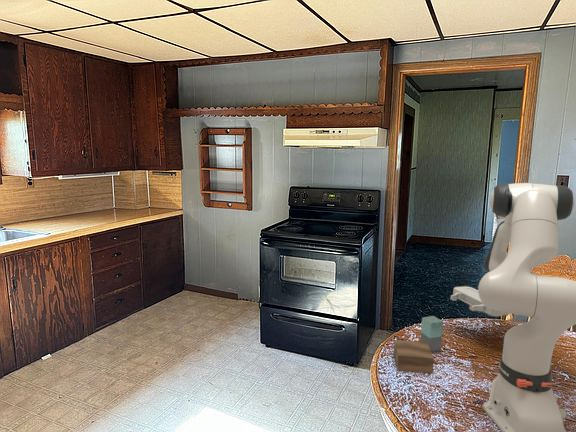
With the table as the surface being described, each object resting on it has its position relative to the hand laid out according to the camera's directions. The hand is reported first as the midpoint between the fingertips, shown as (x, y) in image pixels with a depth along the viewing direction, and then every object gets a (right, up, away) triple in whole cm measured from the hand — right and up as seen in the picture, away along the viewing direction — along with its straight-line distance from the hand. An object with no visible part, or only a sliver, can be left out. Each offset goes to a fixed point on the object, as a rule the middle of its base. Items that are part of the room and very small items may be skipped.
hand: (461, 302), depth 147 cm
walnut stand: (-21, -18, -11) cm, 30 cm away
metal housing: (-12, -16, -2) cm, 20 cm away
